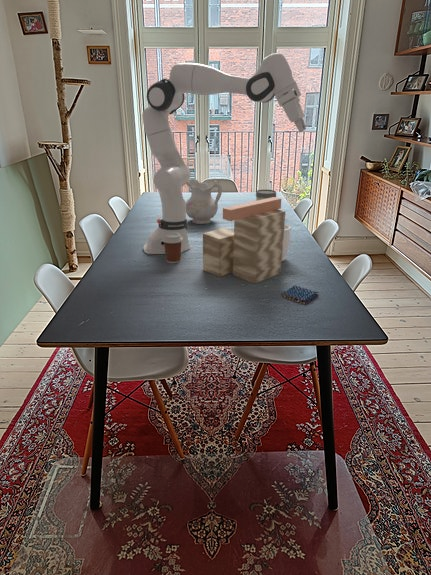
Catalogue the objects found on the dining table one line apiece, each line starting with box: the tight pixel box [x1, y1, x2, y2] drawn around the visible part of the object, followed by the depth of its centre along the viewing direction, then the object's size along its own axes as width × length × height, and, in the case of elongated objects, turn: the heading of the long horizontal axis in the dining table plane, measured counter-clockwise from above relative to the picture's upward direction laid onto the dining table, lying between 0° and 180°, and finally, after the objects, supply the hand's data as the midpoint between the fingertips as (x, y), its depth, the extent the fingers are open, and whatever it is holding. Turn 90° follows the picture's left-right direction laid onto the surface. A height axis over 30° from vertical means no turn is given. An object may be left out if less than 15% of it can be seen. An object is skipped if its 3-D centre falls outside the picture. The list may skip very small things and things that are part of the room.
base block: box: [202, 227, 234, 277], centre depth 167 cm, size 12×10×16 cm
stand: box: [232, 209, 287, 284], centre depth 161 cm, size 16×12×26 cm
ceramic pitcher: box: [185, 178, 223, 225], centre depth 233 cm, size 22×20×25 cm
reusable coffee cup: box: [255, 189, 277, 201], centre depth 248 cm, size 13×13×15 cm
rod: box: [222, 196, 282, 222], centre depth 152 cm, size 28×4×4 cm, turn 132°
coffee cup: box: [162, 233, 183, 264], centre depth 177 cm, size 9×9×12 cm
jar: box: [282, 224, 292, 262], centre depth 179 cm, size 11×10×15 cm
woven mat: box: [280, 284, 319, 305], centre depth 148 cm, size 10×11×2 cm
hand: (303, 130), depth 158 cm, fingers open, 8 cm apart
